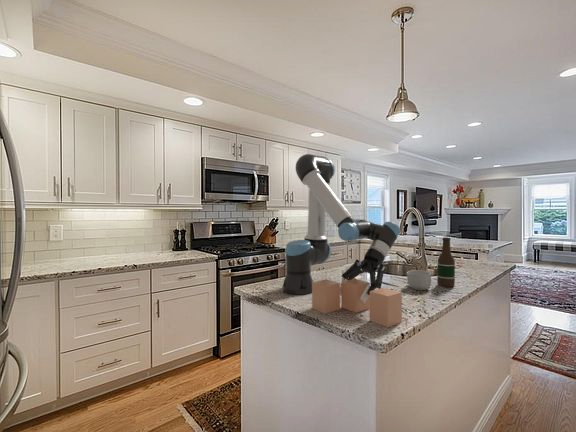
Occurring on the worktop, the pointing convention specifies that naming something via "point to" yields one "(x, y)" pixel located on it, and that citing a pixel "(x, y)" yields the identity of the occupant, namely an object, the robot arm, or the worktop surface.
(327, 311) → the peach colored cube
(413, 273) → the teacup
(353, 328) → the worktop surface
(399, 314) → the tan peach cube
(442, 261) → the beer bottle
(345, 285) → the smooth terracotta cube
